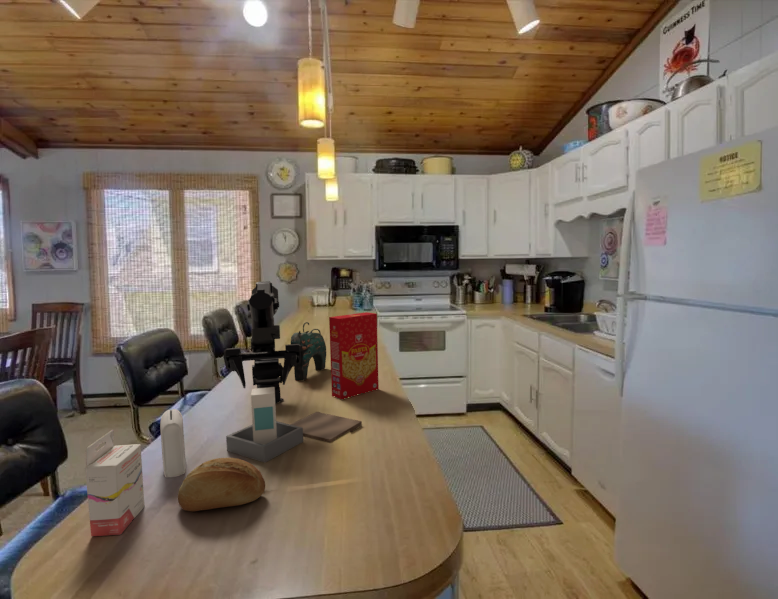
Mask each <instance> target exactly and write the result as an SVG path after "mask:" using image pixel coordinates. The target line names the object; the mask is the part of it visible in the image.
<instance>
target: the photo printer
mask: <svg viewBox="0 0 778 599" xmlns="http://www.w3.org/2000/svg"><path fill="white" fill-rule="evenodd" d="M159 424H160V425H159V426H160V427H159V428H160V429H159V430H160V444H161V456H162V468H163V475H164V477H165V478H176V477H179V476H182V475H183V474H184V475H185V473H186V471H187V470H186V469H187V468H186V467H187V461H186V460H187V458H186V448H185V434H184V432H185V431H184V417H183V415H182V413H181V412H180V411H179V409H176V408H173V409H167V410H166V411H164V413H163V414H162V415H161V418H160V423H159Z"/></svg>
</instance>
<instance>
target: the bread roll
mask: <svg viewBox="0 0 778 599" xmlns="http://www.w3.org/2000/svg"><path fill="white" fill-rule="evenodd" d="M265 491H266V481H265V478H264V476H263V474H262V472H261V471H260V470H259V469H258V467H256V466H255V465H254V464H252V463H251V462H248V461H246V460H243V459H240V458H236V457H217V458H212V459H209V460H207V461H204V462H203V463H201V464H200V465H198V466H196V467H195V468H193V470H191V471H190V472H189V473H188V474H187V475H186V476H185V479H183V480H182V484H181V486H180V487H179V489H178V494H177V503H178V505H179V507H180V508H181V509H182V510H184V511H186V512H198V511H206V510H213V509H219V508H227V507H236V506H242V505H245V504H246V505H247V504H249V503H251V502H254V501H256V500H257V499H258V498H260V497H261V496H262V495H263V494H264V492H265Z"/></svg>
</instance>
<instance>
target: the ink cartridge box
mask: <svg viewBox="0 0 778 599" xmlns="http://www.w3.org/2000/svg"><path fill="white" fill-rule="evenodd" d="M114 434H115V430H114V429H111V430H110V431H108V432H107V433H106V434H104V435H103V436H101V437H100V438H98V439H97V440H95V441H94V442H92V444H90V445H88V446H87V447H86V450H85V468H84V469H85V470H84V471H85V482H86V494H87V504H88V513H89V515H88V516H89V528H90V536H91V537H101V536H117V535H118V536H119V535H122V534H123V533H124V532H125V530H126V529H127V528H128V527H129V525H130V524H131V523H132V522H133V521H134V520H135V518H136V517H137V516H138V515H139V514H140V512H142V510H143V509H144V508H145V494H144V493H145V492H144V490H145V489H144V478H143V477H144V476H143V461H142V444H140V443H137V444H136V443H135V444H134V443H133V444H132V443H131V444H121V445H118V444H117V445H114V440H115V439H114V438H115V437H114V436H115V435H114ZM101 444H104V445H103V446H102V447H100V445H101ZM98 447H100V448H99V449H98V450H97V448H98ZM133 519H134V520H133ZM132 520H133V521H132Z"/></svg>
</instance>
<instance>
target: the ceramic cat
mask: <svg viewBox="0 0 778 599" xmlns="http://www.w3.org/2000/svg"><path fill="white" fill-rule="evenodd" d="M306 324H307V325H308V326H310V323H309V322H308V321H305V322H304V323H303V325H302V332H301V330H299V331H298V332H294V333H293V334H292V335H291V338H290V344H299V345H300V346H301V363H299V364H296V366H295V367H293V369H294V373H293V374H294V380H295V381H299V380H304V381H305V379H306V380H307V379H308V373H309V372H308V370H309V366H310V362H311V359H313V362H314V363H313V364H314V368H315V369H318V370H317V371H323V370H322V369H324V370H325V369H326V362H327V360H326V359H327V346H326V345H327V344H326V342H325V338H324V336H323V335H322V334H321V330H320V329H318V328H313V329H312V330H307V331H305V325H306ZM313 331H318V332H313ZM315 369H314V370H315Z"/></svg>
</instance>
